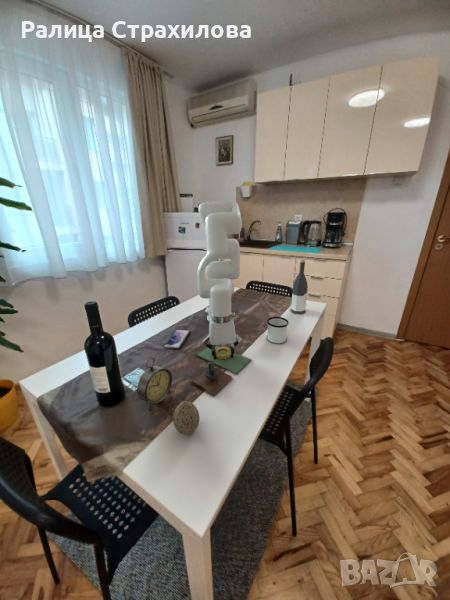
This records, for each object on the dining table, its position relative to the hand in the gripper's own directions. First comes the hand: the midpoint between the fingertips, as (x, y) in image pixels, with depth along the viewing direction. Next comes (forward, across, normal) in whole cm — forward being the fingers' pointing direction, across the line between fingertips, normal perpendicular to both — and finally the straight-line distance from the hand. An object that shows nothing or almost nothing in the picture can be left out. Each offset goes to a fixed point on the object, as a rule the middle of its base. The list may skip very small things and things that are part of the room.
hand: (223, 355), depth 97 cm
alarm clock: (+1, +24, +19) cm, 30 cm away
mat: (+1, 0, 0) cm, 1 cm away
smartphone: (+1, +19, -18) cm, 26 cm away
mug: (+1, -27, -11) cm, 29 cm away
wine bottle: (+1, -48, -37) cm, 60 cm away
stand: (+1, +6, +13) cm, 14 cm away
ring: (-1, 0, 0) cm, 1 cm away
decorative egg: (+1, +14, +31) cm, 34 cm away
